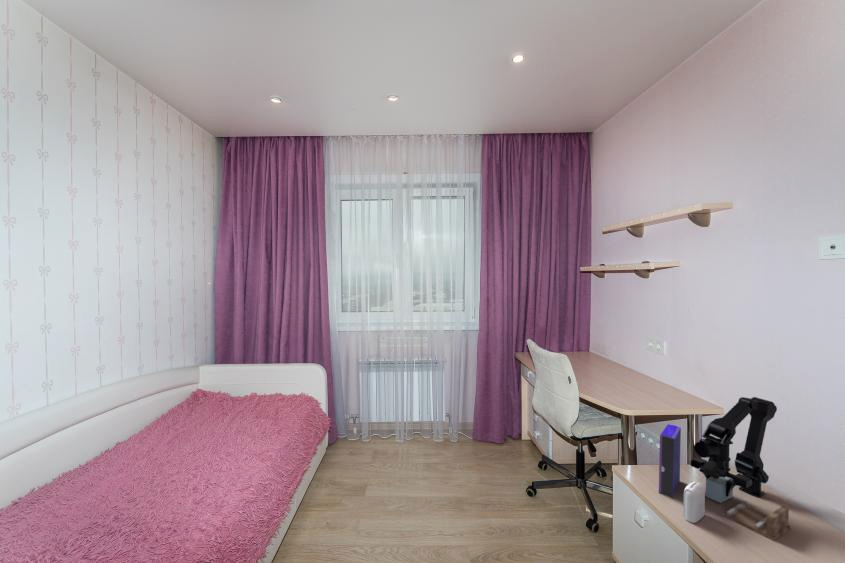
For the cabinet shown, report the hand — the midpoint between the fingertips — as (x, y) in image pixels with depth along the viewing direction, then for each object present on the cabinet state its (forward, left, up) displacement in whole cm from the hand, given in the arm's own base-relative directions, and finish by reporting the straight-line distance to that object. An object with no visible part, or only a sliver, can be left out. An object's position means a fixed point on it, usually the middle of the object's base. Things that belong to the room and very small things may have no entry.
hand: (719, 492), depth 142 cm
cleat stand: (+6, +13, -2) cm, 15 cm away
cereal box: (+11, -13, -2) cm, 17 cm away
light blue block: (0, 0, -2) cm, 2 cm away
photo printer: (+24, +2, -2) cm, 24 cm away
